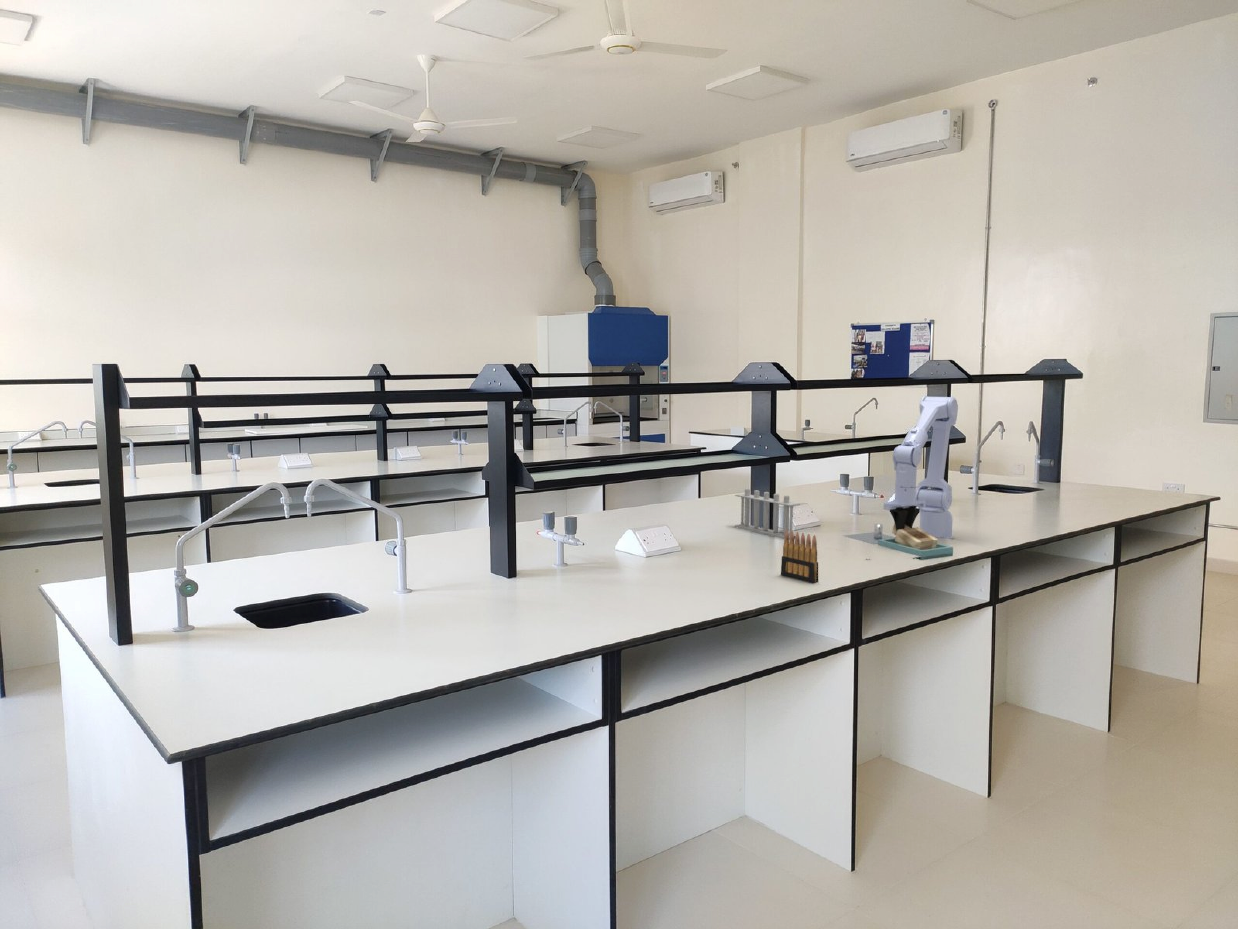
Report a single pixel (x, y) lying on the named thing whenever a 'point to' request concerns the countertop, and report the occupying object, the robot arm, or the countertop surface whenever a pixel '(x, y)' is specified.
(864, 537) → the board
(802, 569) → the ammunition clip
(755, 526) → the test tube rack
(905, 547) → the tray
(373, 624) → the countertop surface
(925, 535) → the maple collar
